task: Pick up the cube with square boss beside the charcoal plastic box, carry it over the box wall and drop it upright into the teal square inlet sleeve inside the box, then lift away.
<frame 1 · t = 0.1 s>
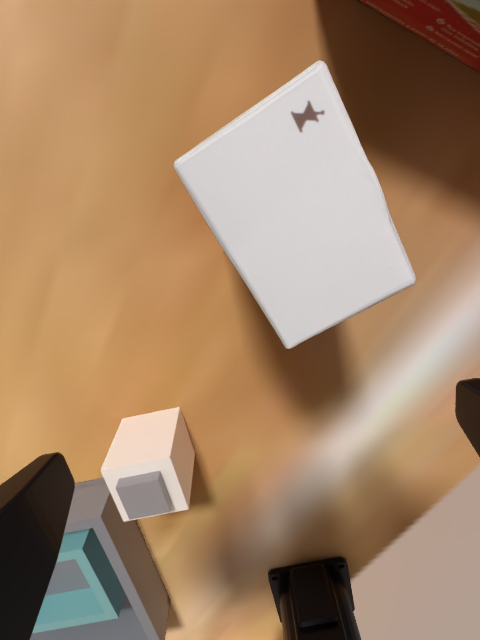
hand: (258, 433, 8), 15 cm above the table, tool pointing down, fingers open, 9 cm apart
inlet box: (66, 557, 30), on the table
cube with square boss: (159, 436, 26), on the table
skincare box: (262, 196, 21), on the table
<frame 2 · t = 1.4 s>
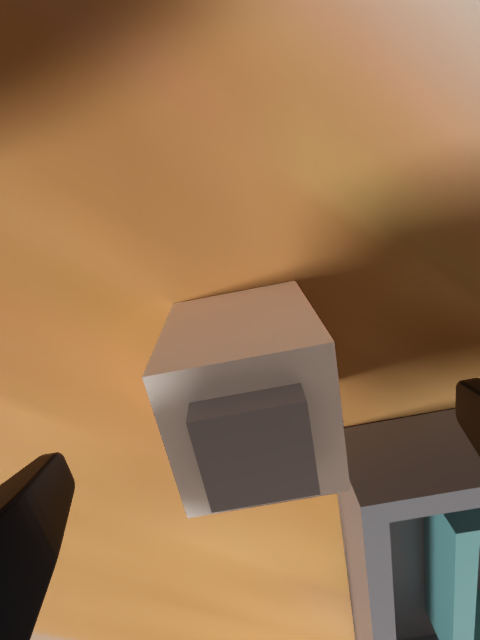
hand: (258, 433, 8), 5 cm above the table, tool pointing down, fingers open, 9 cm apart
cube with square boss: (244, 346, 13), on the table
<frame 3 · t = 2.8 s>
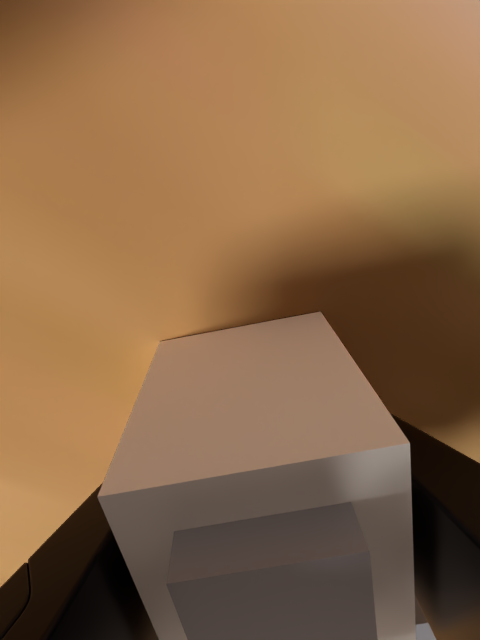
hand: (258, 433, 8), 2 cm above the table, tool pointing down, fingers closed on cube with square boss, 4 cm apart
cube with square boss: (253, 395, 10), on the table, touching gripper
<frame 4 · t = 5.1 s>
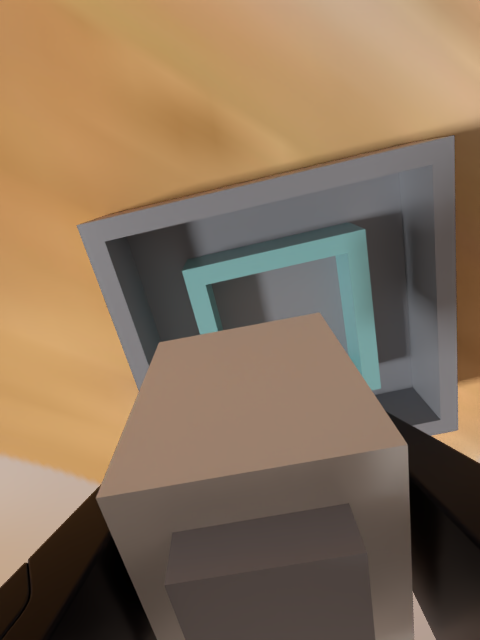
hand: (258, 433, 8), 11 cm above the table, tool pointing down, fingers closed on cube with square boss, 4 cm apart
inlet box: (280, 312, 19), on the table
cube with square boss: (252, 396, 10), point 10 cm above the table, touching gripper
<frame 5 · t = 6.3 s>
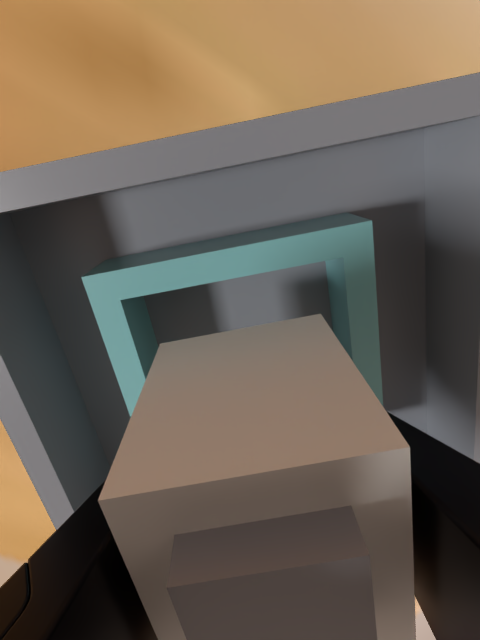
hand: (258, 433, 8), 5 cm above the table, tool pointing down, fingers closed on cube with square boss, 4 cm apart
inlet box: (246, 338, 14), on the table
cube with square boss: (253, 397, 10), point 4 cm above the table, touching gripper
when the fingers open (3 cm above the table, at t = 7.4 s): cube with square boss drops 1 cm, resting on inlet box.
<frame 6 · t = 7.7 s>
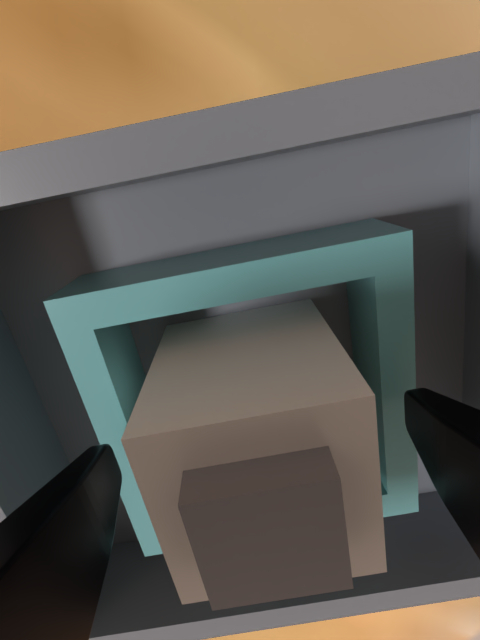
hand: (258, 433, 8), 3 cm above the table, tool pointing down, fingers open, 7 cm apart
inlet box: (249, 365, 12), on the table
cube with square boss: (250, 375, 11), point 1 cm above the table, touching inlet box
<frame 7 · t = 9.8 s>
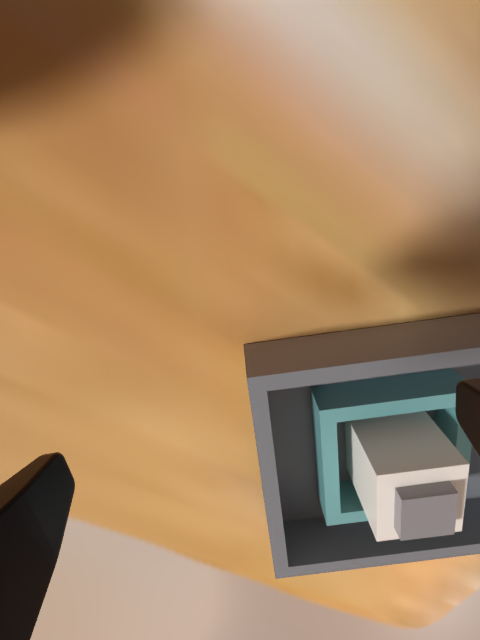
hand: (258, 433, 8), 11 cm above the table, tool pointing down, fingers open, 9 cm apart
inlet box: (376, 428, 22), on the table
cube with square boss: (380, 435, 21), point 1 cm above the table, touching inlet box
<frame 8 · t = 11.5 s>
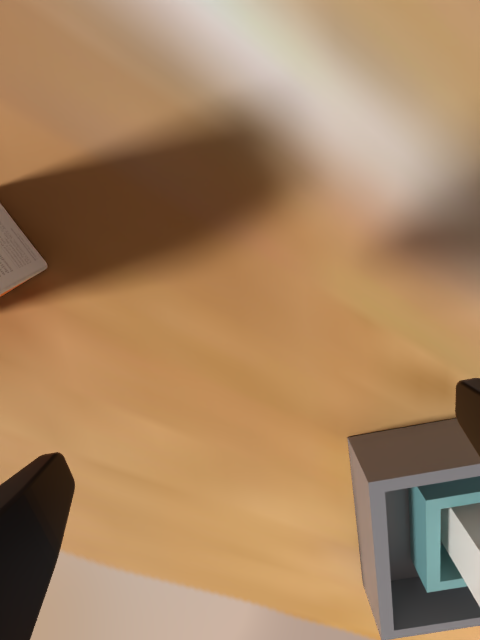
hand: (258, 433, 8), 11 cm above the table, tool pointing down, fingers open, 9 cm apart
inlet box: (464, 499, 24), on the table
cube with square boss: (469, 507, 24), point 1 cm above the table, touching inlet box
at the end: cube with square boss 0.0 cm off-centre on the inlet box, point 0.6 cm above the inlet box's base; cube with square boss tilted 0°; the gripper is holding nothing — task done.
